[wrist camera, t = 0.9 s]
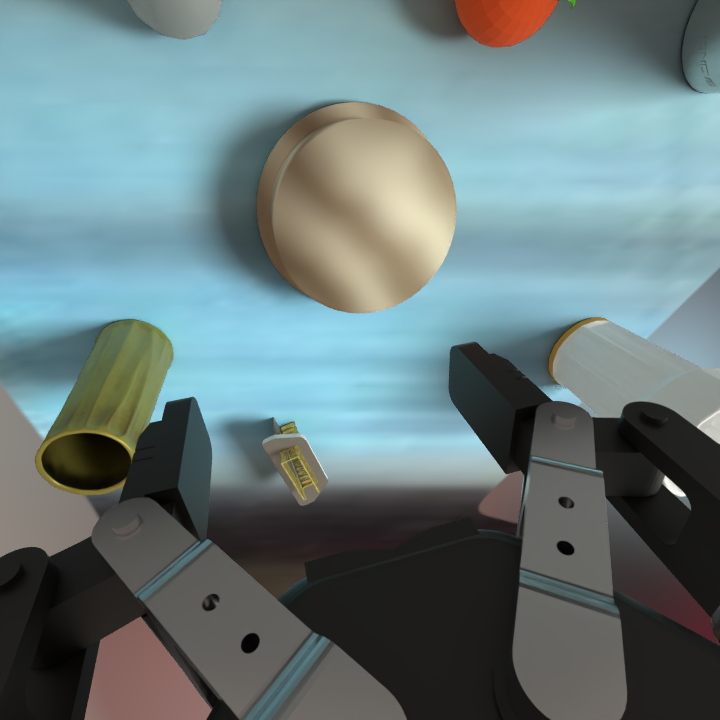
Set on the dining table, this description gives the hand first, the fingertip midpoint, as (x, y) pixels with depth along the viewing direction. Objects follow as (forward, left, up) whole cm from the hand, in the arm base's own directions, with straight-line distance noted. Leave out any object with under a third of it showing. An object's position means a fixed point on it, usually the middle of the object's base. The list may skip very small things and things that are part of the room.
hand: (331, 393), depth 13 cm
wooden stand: (-5, +4, -25) cm, 26 cm away
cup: (-16, +35, -26) cm, 46 cm away
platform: (+15, +18, -26) cm, 35 cm away
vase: (+17, 0, -26) cm, 30 cm away
